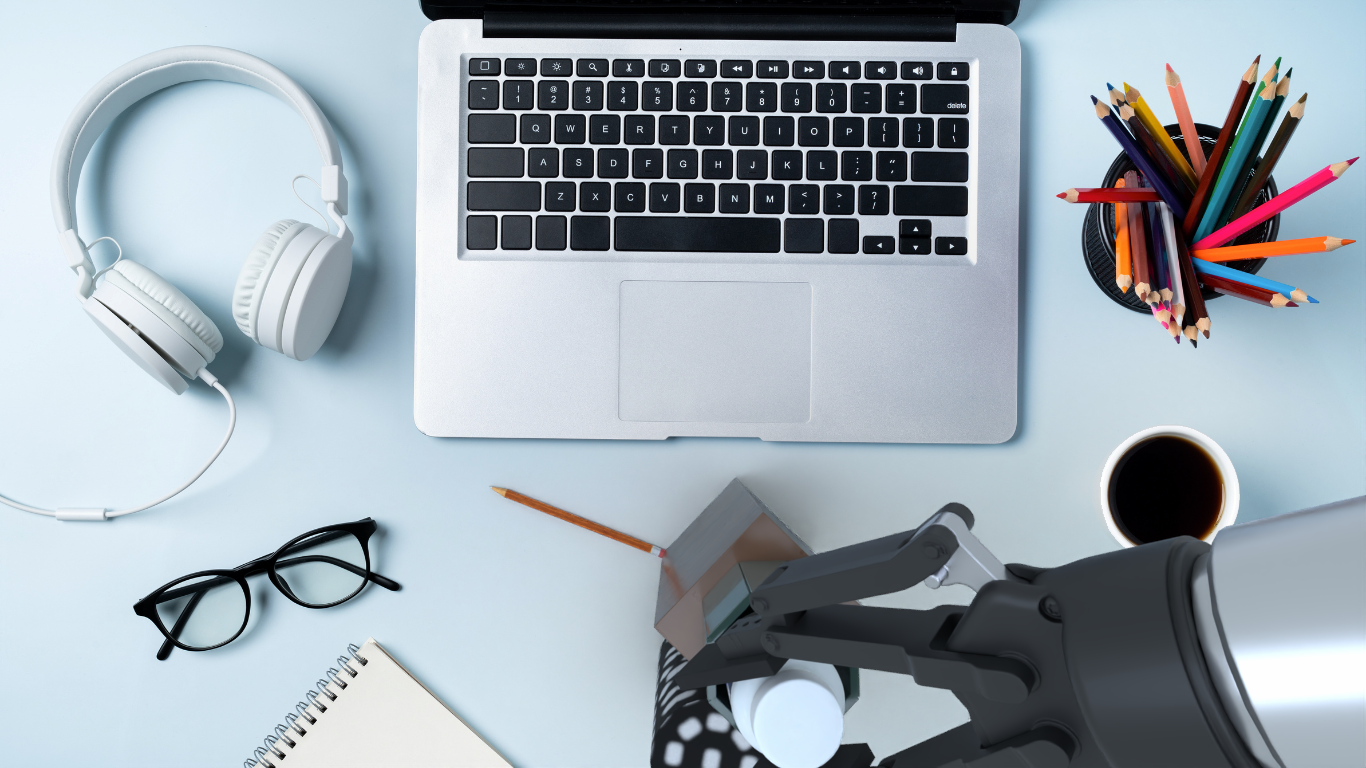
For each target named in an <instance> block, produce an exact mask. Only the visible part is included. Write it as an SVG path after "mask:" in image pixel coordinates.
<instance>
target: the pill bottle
mask: <svg viewBox="0 0 1366 768" xmlns="http://www.w3.org/2000/svg"><path fill="white" fill-rule="evenodd" d="M755 615H758V614H757V613H756V612H753V613H751V614H749V615H747V616H745V617H744V618H747V617H751V616H755ZM726 685H727V689H728V694H729V699H730V703H731V709H732V713H733V717H734V719H735V722H736V724H737V727H738V729H739V730H740V732H741V734H742V735H743V737H744V738H745V739H746V740H747V742H748V743H749V744H750V745H751V746H753V747H754V748H755V749H756V750H758V751H759V752H761V753H763V754H764V755H765V757H766V758H767V759H768V760H770V761H771V762H772V763H773V764H775V765H776V766H778V767H780V768H818V767H820V766H822V765H823V764H825V763H826V762H827V761H828V760H829V759H830V758H832V756H833V755H834V754H835V753H836V751H837V750H838V748H839V746H840V744H842V741H843V738H844V733H845V718H844V716H845V714H844V710H845V695H844V689H843V685H842V682H841V679H840V677H839V675H838V673H837V671H836V669H835V667H834V666H833V665H832V664H825V663H817V662H810V661H802V660H795V659H789V660H788V661H787V662H786V663H785V664H784V666H783V667H782V668H781V669H780V670H779V671H778V673H777V674H776V675H775V676H769V677H762V678H756V679H750V680H744V681H738V682H731V683H726Z"/></svg>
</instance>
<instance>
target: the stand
mask: <svg viewBox="0 0 1366 768" xmlns="http://www.w3.org/2000/svg"><path fill="white" fill-rule="evenodd" d="M665 550H666V551H665V553H664V554H663V555H662V558H661V564H660V572H659V580H658V589H657V596H656V605H655V606H656V607H655V613H654V623H653V628H654V629H655V630H656V631H657V632H658V633H659V634H660V635H661V636H662V637H663V638H664V640H665V639H666V640H667V641H668V642H669V643H670V644H671V645H673V646H674V647H675V648H676V649H677V650H678V651H679V652H680V653H681V654H682V655H683V656H684V657H685V658H686V659H687V660H688V661H690V660H691V659H692V658H693V657H694V656H695V655H696V654H697V653H698V652H699V651H700V650H701V649H702V648H703V637H702V601H703V598H704V597H705V596H706V595H707V594H708V593H709V592H710V591H711V590H712V588H713V587H714V586H715V585H716V584H717V583H718V582H719V581H720V580H721V579H722V578H723V577H724V576H725V575H726V574H727V573H728V572H729V571H730V569H731V568H732V567H733V566H734V565H735V564H736V563H739V562H740V561H779V560H790V561H792V560H796V559H800V558H804V557H807V556H811V555H815V554H816V553H815V552H814V551H813V550H812V549H811V548H810V547H809V546H808V545H807V544H806V543H805V542H804V541H803V540H802V539H801V538H799V536H798V535H797V534H796V533H794V532H793V531H792V529H790V528H789V527H788V526H787V525H786V524H785V523H784V522H783V520H781V518H779V517H778V516H777V515H776V514H775V513H774V512H773V511H771V509H770V508H768V507H767V506H766V504H764V503H763V502H762V501H761V500H760V499H759V498H758V497H757V496H756V495H755V494H754V493H753V492H752V491H751V490H750V489H749V488H748V487H746V485H744V484H743V482H741V481H740V479H738V478H737V477H734V478H733V480H732V481H730V483H728V484H727V486H726V487H725V488H724V489H723V490H722V491H721V492H720V493H719V494H718V495H717V496H716V497H715V499H713V500H712V501H711V502H710V503H709V505H708V506H707V507H706V508H705V509H704V510H703V511H702V512H701V513H700V514H699V515H698V516H697V517H696V518H695V519H694V520H693V521H692V522H691V523H690V524H689V525H688V527H686V529H684V531H683V532H682V533H681V534H680V535H679V536H678V537H677V538H676V539H675V540H674V541H673V542H672V543H671V544H670V546H668V548H666V549H665ZM839 604H846V605H860V606H864V604H862V602H860V601H859V600H854V601H849V602H844V603H839Z"/></svg>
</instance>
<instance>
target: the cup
mask: <svg viewBox="0 0 1366 768" xmlns="http://www.w3.org/2000/svg"><path fill="white" fill-rule="evenodd" d="M788 561H790V560H779V561H740V562H739V563H736V564H735V565H734V566H733V567H732V568H731V569H730V571H729V572H728V573H727V574H726V575H725V576H724V577H723V578H722V579H721V580H720V581H719V582H718V583H717V584H716V585H715V586H714V587H713V588H712V590H711V591H710V592H709V593H708V594H707V595H706V596H705V597H704V598H703V601H702V637H703V647H704V646H705V645H707V644H711V643H716V641H717V640H718V639H719V638H720V637H721V636H722V635H723V634H724V633H725V632H726V631H727V630H728V629H729V628H730V627H731V626H732V625H733V624H734V623H735V622H736V621H737V620H738V619H742V618H744V617H745V616H747V615H749V614H751V613H753V612H755V611H754V610H753V608H752V607H751V605H750V602H749V596H750V594H751V593H752V592H753V591H754V590H755V589H756V588H757V587H758V586H759V585H760V584H761V583H762V582H763V581H764V580H765V579H766V578H767V577H768V576H769V575H770V574H771V573H773V572H774V571H775V570H776V569H777V568H778V567H779V566H780V565H781V564H782V563H784V562H788ZM833 666H834V667H835V669H836V671H837V673H838V675H839V677H840V679H841V682H842V685H843V689H844V695H845V710H844V715H846V714H847V712H849V710H850V709H851V708H853V706H854V705H855V704H856V703H857V702H858V701H859V699H860V697H861V685H860V684H861V683H860V681H861V680H860V679H861V678H860V668H854V667H847V666H839V665H833ZM706 691H707V700H708V701H709V703H710V704H711V705H712V706H713V707H714V708H715V709H716V710H717V711H718V712H719V713H720V714H721V715H722V716H723V717H724V718H725V719H726V720H727V721H728V722H729V723H730V724H731V725H732V726H733V727H734V728H735V729H736V730H737V731H739V732H740V730H739V729H738V727H737V724H736V722H735V719H734V717H733V713H732V709H731V703H730V699H729V694H728V689H727V685H726V683H725V684H719V685H713V686H707V687H706ZM740 733H741V732H740Z"/></svg>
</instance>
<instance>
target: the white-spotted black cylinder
mask: <svg viewBox="0 0 1366 768" xmlns="http://www.w3.org/2000/svg"><path fill="white" fill-rule="evenodd" d="M657 658H658V659H657V671H656V672H657V673H656V682H655V683H656V684H655V694H654V695H655V697H654V710H653V722H652V730H651V731H652V733H651V746H650V756H649V757H650V759H649V766H650V768H753V766H754V765H755V764H756V763H757V761H758V760H759V759H760V757H761V756H762V755H763V753H761V752H759V751H758V750H756V749H755V748H754V747H753V746H751V745H750V744H749V743H748V742H747V740H746V739H745V738H744V737H743V735H742V734H741V733H740V732H739V731H737V730H736V729H735V728H734V727H733V726H732V725H731V724H730V723H729V722H728V721H727V720H726V719H725V718H724V717H723V716H722V715H721V714H720V713H719V712H718V711H717V710H716V709H715V708H714V707H713V706H712V705H711V704H710V703H709V701H708V700H707V691H706V687H700V688H694V689H688V690H682V691H681V690H680V688H679V686H678V685H677V683H676V681H675V679H674V678H673V677H674V676H675V675H676V674H677V673H678V672H679V671H680V670H681V669H682V668H683V667H684V666H685V665H686V664H687V663H688V662H689V661H688V660H687V659H686V658H685V657H684V656H683V655H682V654H681V653H680V652H679V651H678V650H677V649H676V648H675V647H674V646H673V645H671V644H670V643H669V642H668V641H667V640H666V639H665V638H664V640H663V642H662V644H661V645H660V648H659V652H658V657H657Z"/></svg>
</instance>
